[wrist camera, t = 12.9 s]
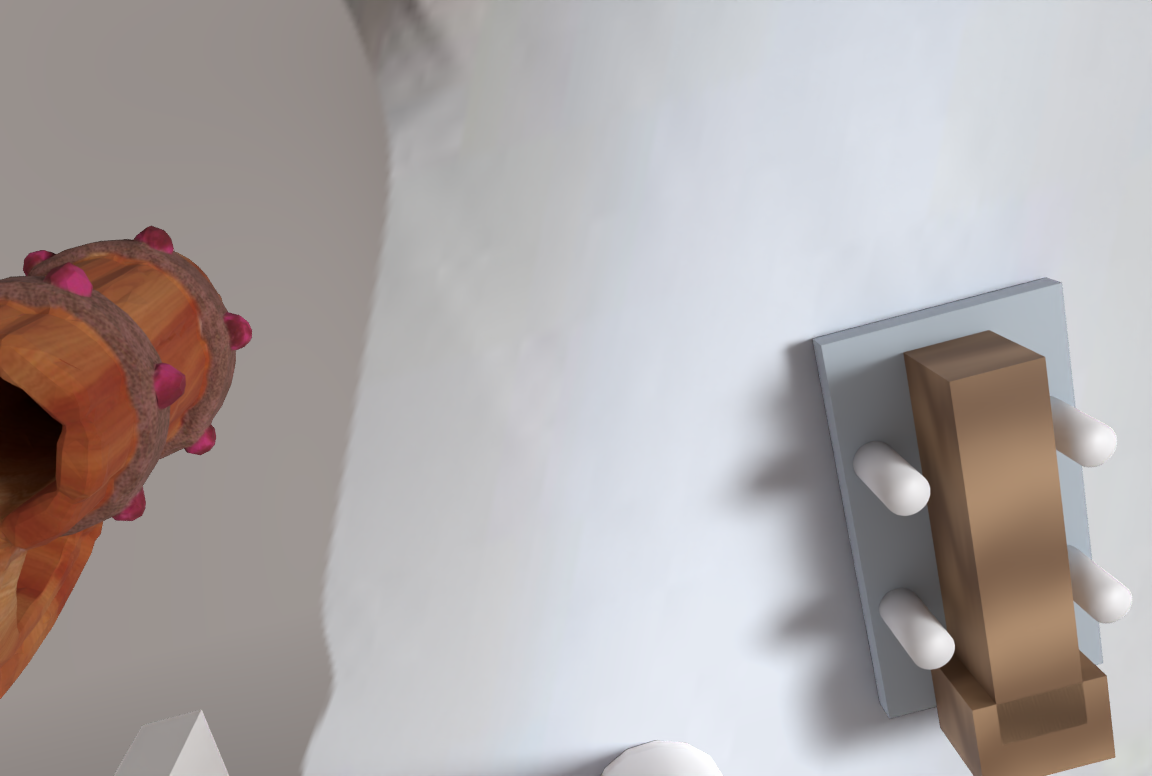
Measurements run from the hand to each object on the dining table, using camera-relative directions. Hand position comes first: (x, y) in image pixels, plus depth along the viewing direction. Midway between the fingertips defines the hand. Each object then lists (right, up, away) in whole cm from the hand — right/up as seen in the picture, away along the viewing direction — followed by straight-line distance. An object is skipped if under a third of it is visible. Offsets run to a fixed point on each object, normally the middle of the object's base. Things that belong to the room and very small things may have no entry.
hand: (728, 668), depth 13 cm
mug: (-20, +3, +28) cm, 34 cm away
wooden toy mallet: (+15, -2, +30) cm, 34 cm away
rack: (+15, -2, +32) cm, 35 cm away
